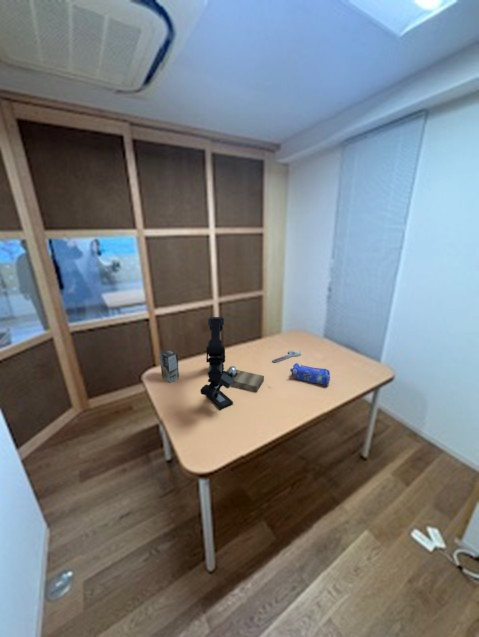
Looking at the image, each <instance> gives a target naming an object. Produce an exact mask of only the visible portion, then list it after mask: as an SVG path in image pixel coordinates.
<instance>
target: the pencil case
mask: <svg viewBox="0 0 479 637" xmlns="http://www.w3.org/2000/svg"><path fill="white" fill-rule="evenodd" d="M292 366H293V368H292V367H291V368H290V370H289V372H291V377H292V378H293V379H295V380H299V381H303V382H308V383H312V384H313V383H314V384H317V385H318V384H319V385H323V386H326V385H327V386H329V384H330V381H331V376H330V375H331V373H330V370H329V369H327V368H320V367H312V366H307V365H303V364H300V363H298V362H296V363H294V364H293V365H292Z"/></svg>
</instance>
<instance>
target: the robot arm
mask: <svg viewBox="0 0 479 637" xmlns="http://www.w3.org/2000/svg"><path fill="white" fill-rule="evenodd" d="M207 326H209V330H210V332H211V337H210V339H209V341H208V342H207V343H208V344H207V346H206V363H209V364H208V365H209V366H208V371H207V376H208V379H207V382H208V383H209V384H204V385H203V386H202V387H201V389H200V391H199V392H200V394H201V395H204V396H206V397H207V396H210V397H212V396H214V397H215V398H217V397H218V394H219V391H221V388H222V387H224V388H225V389H230V387H232V386H231V385H232V383H233V381H234V374H233V373H232V372H231V373H229V372H227V370H225V367H224V364H225V362H226V348H225V347H224V345H223V341H222V340H221V332H222V331H223V327H224V326H225V318H223V317H222V316H210V317H209V318H207Z"/></svg>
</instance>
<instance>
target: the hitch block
mask: <svg viewBox="0 0 479 637" xmlns="http://www.w3.org/2000/svg"><path fill="white" fill-rule="evenodd" d="M226 371H227V372H229V368H227V370H226ZM264 381H265V375H262V374H257V373H253V372H249V371H243V370H240V369H236V377H235V378H234V381H233V383H232V385H231V386H230V387H233V388H239V389H243V390H245V391H249V392H250V391H251V392H254V393H258V392H259V389H261V386H262V385H263V384H264Z"/></svg>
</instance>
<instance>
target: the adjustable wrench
mask: <svg viewBox="0 0 479 637" xmlns="http://www.w3.org/2000/svg"><path fill="white" fill-rule="evenodd" d="M287 353H288V354H286V355H284V356H283V355H282V356H280V357H277V358H275V359H272V360H271V362H272V363H274V364H276V363H279V362H282V361H284V360H285V361H286V360H287V359H290V358H294V357H296V358H297V357H301V355H302V352H301V350H299V352H296V351H295V350H288V352H287Z"/></svg>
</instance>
